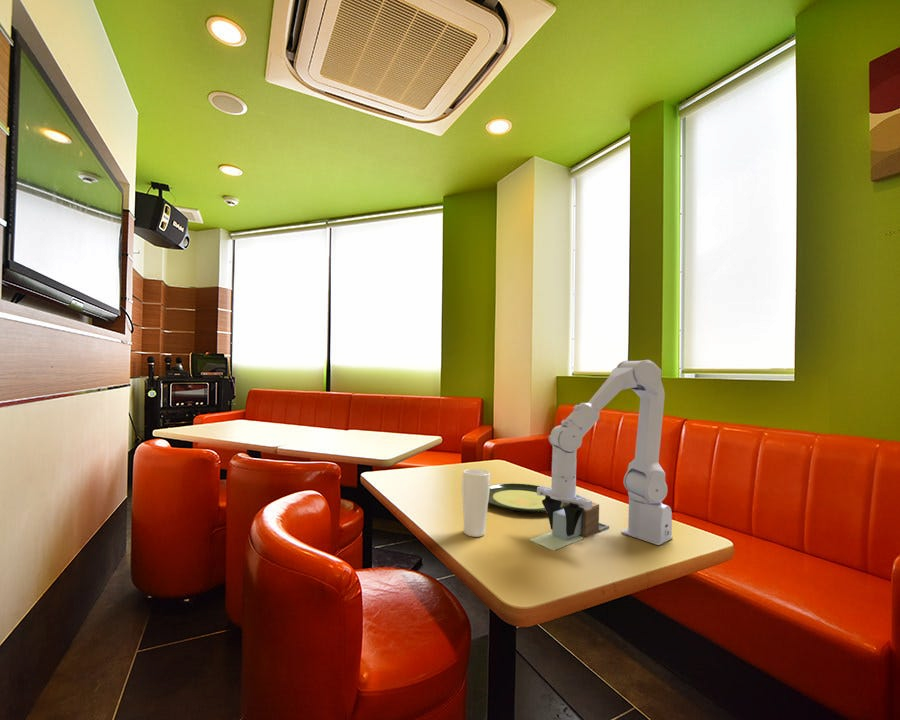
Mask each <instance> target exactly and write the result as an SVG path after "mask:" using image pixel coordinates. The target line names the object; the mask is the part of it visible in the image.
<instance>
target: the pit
mask: <svg viewBox="0 0 900 720" xmlns="http://www.w3.org/2000/svg"><path fill="white" fill-rule="evenodd" d="M609 529H610V525H607V524H604V523H601V522H599V532H598V533H601V532H603V531H606V530H609Z"/></svg>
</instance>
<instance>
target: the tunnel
mask: <svg viewBox="0 0 900 720" xmlns="http://www.w3.org/2000/svg"><path fill="white" fill-rule="evenodd" d="M568 505H569V504H568V503H565V502H563V508H562V509H564V506H568ZM599 523H600V504H599V503H596V502H593V501H592V509H590V510H584V511H583V534H581V535H582V536H581V537H583V538H588V537H590V536H593V535H595V534H598V533H600V532H599Z"/></svg>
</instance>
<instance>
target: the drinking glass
mask: <svg viewBox="0 0 900 720" xmlns="http://www.w3.org/2000/svg"><path fill="white" fill-rule="evenodd" d="M461 484H462V485H461V486H462V487H461V491H462V510H463V511H462V512H463V513H462V515H463V533H464V534H465V535H466V536H468V537H472V538H478V537H479V538H480V537H483V536H484V535H485V534H486V529H487V528H486V526H487V525H486V524H487V515H488V507H489V503H488V500H489V491H490V485H491V472H490V471H488V470H486V469H482V468H467V469H464V470H462V482H461Z"/></svg>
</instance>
